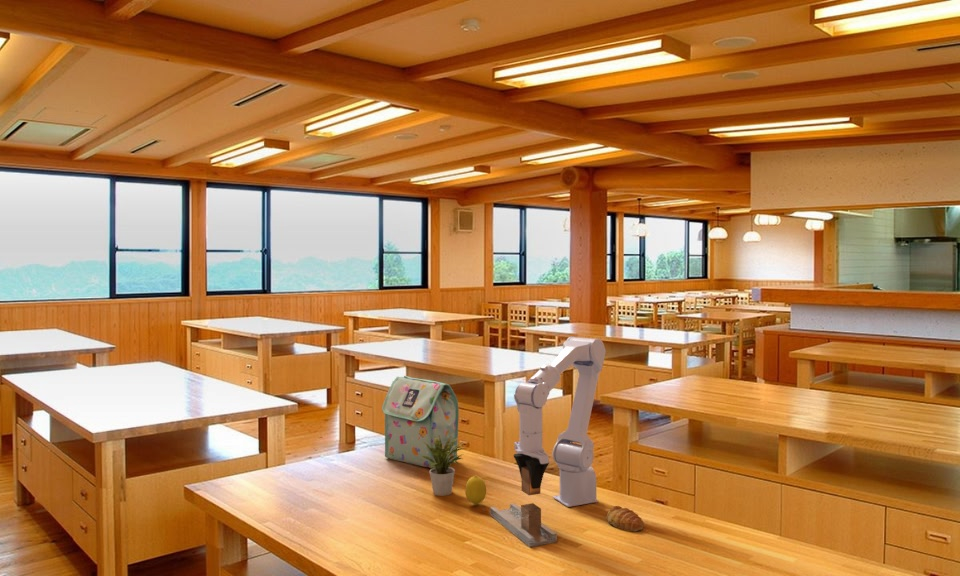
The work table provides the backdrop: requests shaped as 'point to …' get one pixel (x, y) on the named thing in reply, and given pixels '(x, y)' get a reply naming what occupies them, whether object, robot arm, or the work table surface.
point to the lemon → (475, 490)
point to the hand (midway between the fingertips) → (531, 485)
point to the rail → (516, 528)
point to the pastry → (624, 519)
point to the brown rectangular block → (528, 483)
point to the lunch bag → (419, 419)
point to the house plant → (442, 466)
